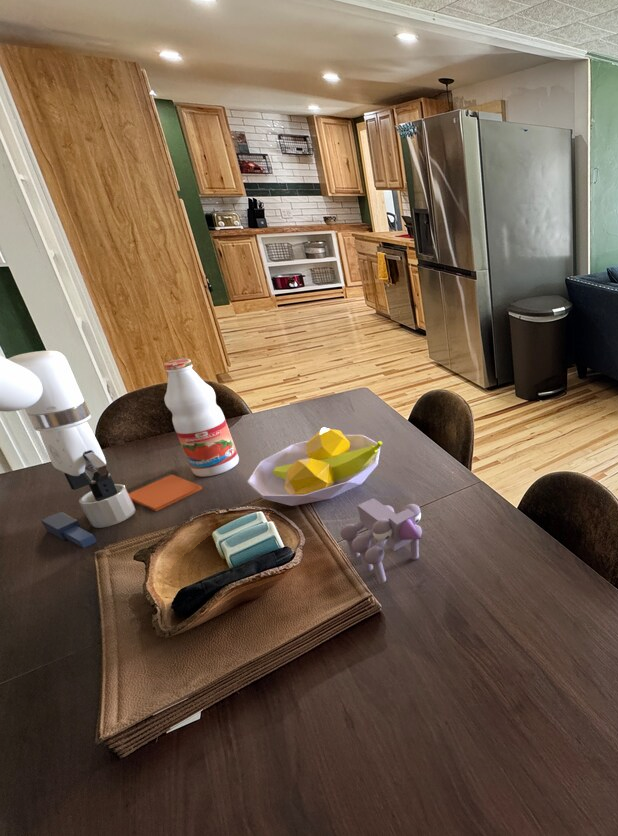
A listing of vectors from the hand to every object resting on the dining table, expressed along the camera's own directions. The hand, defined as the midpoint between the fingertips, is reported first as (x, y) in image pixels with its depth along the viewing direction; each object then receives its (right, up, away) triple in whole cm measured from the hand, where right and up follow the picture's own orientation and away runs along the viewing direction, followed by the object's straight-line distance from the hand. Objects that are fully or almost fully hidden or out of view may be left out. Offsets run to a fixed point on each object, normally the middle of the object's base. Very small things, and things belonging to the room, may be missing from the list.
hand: (95, 491), depth 96 cm
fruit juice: (+8, +1, +21) cm, 23 cm away
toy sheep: (+66, -12, -10) cm, 68 cm away
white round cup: (0, -6, +4) cm, 7 cm away
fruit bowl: (+39, -2, +14) cm, 42 cm away
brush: (-2, -9, -2) cm, 9 cm away
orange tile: (+4, -3, +11) cm, 12 cm away
